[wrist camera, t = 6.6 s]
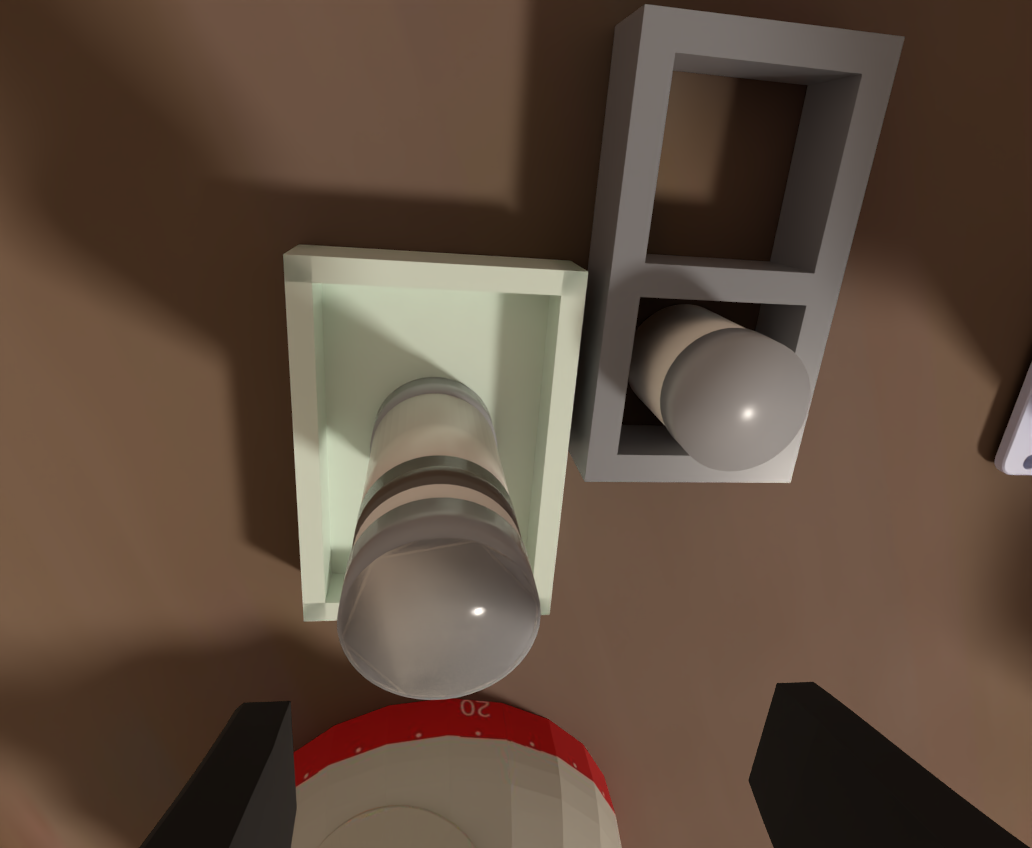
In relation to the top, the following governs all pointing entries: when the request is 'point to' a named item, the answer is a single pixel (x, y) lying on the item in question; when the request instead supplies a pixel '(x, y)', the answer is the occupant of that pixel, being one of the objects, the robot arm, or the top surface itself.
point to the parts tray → (419, 354)
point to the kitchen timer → (450, 782)
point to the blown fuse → (436, 552)
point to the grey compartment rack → (775, 284)
